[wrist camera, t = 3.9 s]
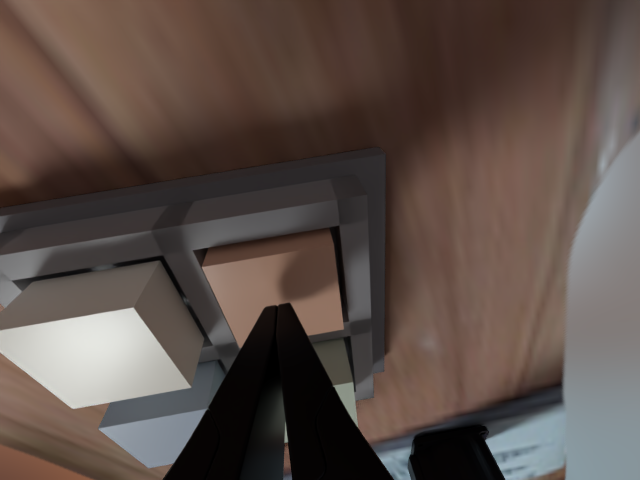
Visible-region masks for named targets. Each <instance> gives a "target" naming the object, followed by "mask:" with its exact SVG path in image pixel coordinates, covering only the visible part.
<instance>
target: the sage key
mask: <svg viewBox="0 0 640 480" xmlns="http://www.w3.org/2000/svg"><path fill="white" fill-rule="evenodd" d="M312 345H313V347H314V349H315V351H316V353H317V355H318V357H319V358H320V360H321V362H322V364H323V366H324V368H325V370H326V372H327V374H328V376H329V378H330V380H331V382H332V383H333V387H335V389H336V391H337V393H338V395H339V397H340V399H341V400H342V402H343V404H344V406H345V408H346V409H347V411H348V413H349V415H350V416H351V418H352V419H353V421H354V422H355V424H356V425H357V427H358V423H357V414H356V405H355V395H354V386H353V379H352V375H351V370H350V366H349V361H348V357H347V352H346V347H345V343H344V338H337V339H332V340H326V341H321V342H315V343H312ZM286 442H288V438H287V430H286V422H285V443H286Z"/></svg>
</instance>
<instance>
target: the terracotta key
mask: <svg viewBox="0 0 640 480" xmlns="http://www.w3.org/2000/svg"><path fill="white" fill-rule="evenodd" d="M202 269H203V271H204V273H205V275H206V278H207V280H208V282H209V284H210V286H211V288H212V290H213V292H214V295H215V297H216V299H217V301H218V303H219V305H220V307H221V309H222V312H223V314H224V316H225V318H226V320H227V322H228V324H229V326H230V329H231V331H232V333H233V335H234V337H235V339H236V341H237V343H238V346H239V348H242V346H243V344H244V342H245V341H246V339H247V337H248V335H249V333H250V332H251V330H252V328H253V326H254V325H255V323H256V321H257V319H258V318H259V316H260V314H261V312H262V311H263V309H264V308H265V307H266V306H271V305H277V306H278V305H279V304H283V303H291V305H292V307H293V308H294V310H295V312H296V314H297V316H298V318H299V320H300V322H301V324H302V326H303V328H304V330H305V332H306V333H307V335H308V336H309V335H315V334H321V333H326V332H332V331H337V330H343V329H344V326H343V318H342V309H341V301H340V292H339V284H338V275H337V267H336V259H335V250H334V243H333V240H332V236H331V232H330V229H329V227H328V228H322V229H316V230H310V231H304V232H298V233H292V234H286V235H280V236H274V237H268V238H262V239H256V240H250V241H244V242H238V243H233V244H227V245H221V246H215V247H209V248H208V251H207V254H206V256H205V259H204V262H203V265H202Z"/></svg>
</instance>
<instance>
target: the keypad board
mask: <svg viewBox="0 0 640 480" xmlns="http://www.w3.org/2000/svg"><path fill="white" fill-rule="evenodd" d="M385 189H386V154H385V153H384V152H383V151H382V150H381V149H380V148H379V147H375V148H369V149H363V150H357V151H350V152H344V153H338V154H332V155H326V156H319V157H313V158H307V159H301V160H295V161H288V162H282V163H276V164H270V165H264V166H257V167H251V168H245V169H239V170H233V171H226V172H220V173H214V174H208V175H202V176H195V177H189V178H183V179H177V180H171V181H165V182H158V183H152V184H146V185H140V186H134V187H127V188H121V189H115V190H109V191H103V192H96V193H90V194H84V195H78V196H72V197H65V198H59V199H53V200H47V201H41V202H34V203H28V204H22V205H16V206H10V207H3V208H0V304H2V305H3V306H4V307H5V308H6V307H7V306H8V305H9V304H10V303H11V302H12V301H13V300H14V299H15V298H16V297H17V296H18V295H19V294H20V293H21V292H23V291H24V290H25V289H26V288H27V287H28V286H29V285H30V284H31V283H32V282H34V281H40V280H46V279H52V278H58V277H64V276H70V275H76V274H82V273H88V272H94V271H100V270H106V269H112V268H118V267H123V266H129V265H135V264H141V263H147V262H153V261H159V260H160V261H161V263H162V265H163V267H164V268H165V270H166V272H167V274H168V275H169V277H170V279H171V281H172V282H173V284H174V286H175V288H176V289H177V291H178V293H179V295H180V296H181V298H182V300H183V302H184V303H185V305H186V307H187V309H188V310H189V312H190V314H191V316H192V318H193V319H194V321H195V323H196V325H197V326H198V328H199V330H200V332H201V333H202V335H203V337H204V341H203V345H202V349H201V353H200V357H199V361H198V363H203V362H208V361H214V360H217V361H218V363H219V365H220V367H221V368H222V370H223V372H224V374H225V375H226V374H227V372H228V371H229V369H230V367H231V365H232V364H233V362H234V360H235V358H236V356H237V355H238V353H239V351H240V349H241V348H239V346H238V343H237V341H236V339H235V337H234V335H233V333H232V331H231V329H230V326H229V324H228V322H227V320H226V318H225V316H224V314H223V312H222V309H221V307H220V305H219V303H218V301H217V299H216V297H215V295H214V292H213V290H212V288H211V286H210V284H209V282H208V280H207V278H206V275H205V273H204V271H203V269H202V265H203V262H204V259H205V256H206V254H207V251H208V248H209V247H215V246H221V245H227V244H233V243H238V242H244V241H250V240H256V239H262V238H268V237H274V236H280V235H286V234H292V233H298V232H304V231H310V230H316V229H322V228H328V227H329V229H330V232H331V236H332V240H333V243H334V250H335V259H336V267H337V275H338V284H339V292H340V301H341V309H342V318H343V326H344V329H343V330H337V331H332V332H326V333H321V334H315V335H309V336H308V337H309V339H310V341H311V343H315V342H321V341H326V340H332V339H337V338H344V343H345V347H346V352H347V357H348V361H349V366H350V370H351V375H352V379H353V386H354V395H355V401H358V400H363V399H368V398H374V388H373V373H379V372H384V321H385ZM109 403H110V402H109Z"/></svg>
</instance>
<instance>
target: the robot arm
mask: <svg viewBox="0 0 640 480" xmlns="http://www.w3.org/2000/svg"><path fill="white" fill-rule="evenodd" d="M208 409H209V410H208ZM208 409H207V410H206V411H205V413H204V414H203V416H202V418H201V420H200V422H199V423H198V425H197V427H196V428H195V430H194V432H193V433H192V435H191V437H190V438H189V440H188V442H187V443H186V445H185V447H184V448H183V450H182V451H181V453H180V454H179V456H178V457H177V459H176V460H175V462H174V463H173V465H172V466H171V468H170V469H169V471H168V472H167V474H166V475H165V477H164V478H163V480H283V468H284V443H285V422H286V430H287V438H288V447H289V455H290V464H291V472H292V480H394V479H393V477H392V476H391V475H390V473H389V472H388V470H387V469H386V467H385V466H384V465H383V463H382V462H381V460H380V459H379V457H378V456H377V455H376V453H375V452H374V450H373V449H372V447H371V446H370V445H369V443H368V442H367V440H366V439H365V437H364V436H363V435H362V433H361V432H360V430H359V428H358V427H357V425H356V424H355V422H354V421H353V419H352V418H351V416H350V415H349V413H348V411H347V409H346V408H345V406H344V404H343V402H342V400H341V399H340V397H339V395H338V393H337V391H336V389H335V387H333V383H332V382H331V380H330V378H329V376H328V374H327V372H326V370H325V368H324V366H323V364H322V362H321V360H320V358H319V357H318V355H317V353H316V351H315V349H314V347H313V345H312V343H311V341H310V339H309V337H308V335H307V333H306V332H305V330H304V328H303V326H302V324H301V322H300V320H299V318H298V316H297V314H296V312H295V310H294V308H293V307H292V305H291V303H283V304H279V305H278V306H277V305H271V306H266V307H265V308H264V309H263V311H262V312H261V314H260V316H259V318H258V319H257V321H256V323H255V325H254V326H253V328H252V330H251V332H250V333H249V335H248V337H247V339H246V341H245V342H244V344H243V346H242V348H241V349H240V351H239V353H238V355H237V356H236V358H235V360H234V362H233V364H232V365H231V367H230V369H229V371H228V372H227V374H226V376H225V378H224V379H223V381H222V383H221V385H220V386H219V388H218V390H217V392H216V394H215V395H214V397H213V399H212V401H211V402H210V404H209V406H208ZM488 433H489V431H488V429H487V427H486V426H478V427H473V428H468V429H463V430H457V431H452V432H447V433H441V434H436V435H431V436H425V437H420V438H416V439H414V440H413V443H412V449H411V455H410V457H409V461H408V470H409V474H410V477H411V480H505V478H504V476H503V474H502V472H501V470H500V469H499V467H498V465H497V463H496V461H495V459H494V457H493V455H492V453H491V451H490V449H489V447H488V445H487V444H486V442H485V439H486V437H487V435H488Z"/></svg>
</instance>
